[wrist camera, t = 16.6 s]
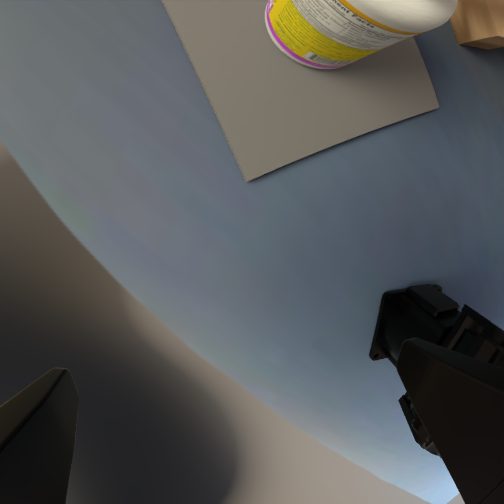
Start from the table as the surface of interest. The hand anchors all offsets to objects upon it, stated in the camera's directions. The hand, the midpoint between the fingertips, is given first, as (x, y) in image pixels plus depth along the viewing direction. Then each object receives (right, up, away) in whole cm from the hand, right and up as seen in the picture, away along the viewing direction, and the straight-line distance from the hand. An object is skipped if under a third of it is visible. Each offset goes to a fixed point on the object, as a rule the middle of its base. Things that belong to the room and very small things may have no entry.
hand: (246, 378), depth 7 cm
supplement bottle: (+4, +17, +9) cm, 20 cm away
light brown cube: (+20, +24, +10) cm, 32 cm away
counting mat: (+4, +18, +9) cm, 20 cm away
